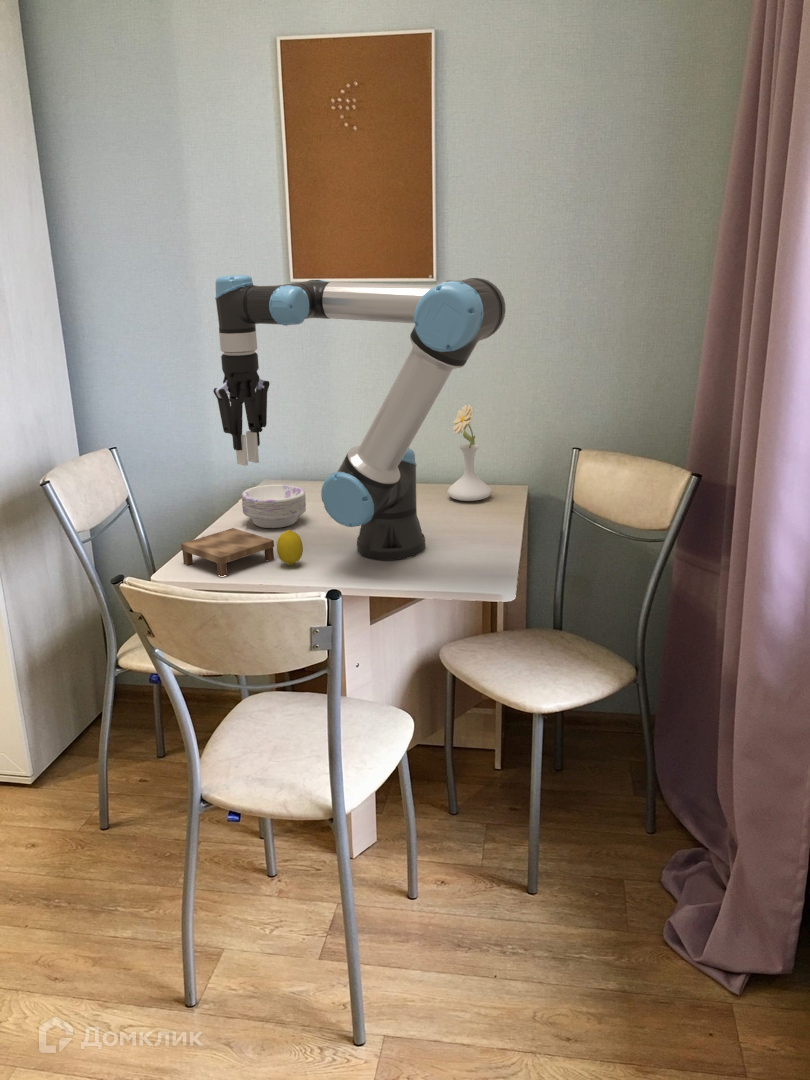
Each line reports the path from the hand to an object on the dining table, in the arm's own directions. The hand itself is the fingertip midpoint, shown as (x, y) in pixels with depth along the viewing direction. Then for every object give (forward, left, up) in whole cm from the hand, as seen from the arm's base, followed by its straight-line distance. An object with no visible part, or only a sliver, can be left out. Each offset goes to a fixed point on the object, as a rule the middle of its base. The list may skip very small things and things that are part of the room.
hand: (248, 462), depth 210 cm
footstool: (0, 0, -18) cm, 18 cm away
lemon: (-12, +1, -21) cm, 24 cm away
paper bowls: (+14, -17, -21) cm, 30 cm away
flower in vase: (-11, -61, -21) cm, 66 cm away
